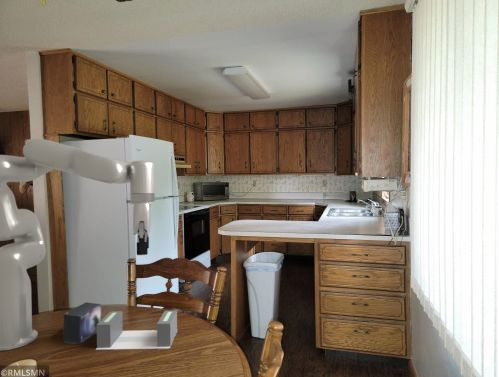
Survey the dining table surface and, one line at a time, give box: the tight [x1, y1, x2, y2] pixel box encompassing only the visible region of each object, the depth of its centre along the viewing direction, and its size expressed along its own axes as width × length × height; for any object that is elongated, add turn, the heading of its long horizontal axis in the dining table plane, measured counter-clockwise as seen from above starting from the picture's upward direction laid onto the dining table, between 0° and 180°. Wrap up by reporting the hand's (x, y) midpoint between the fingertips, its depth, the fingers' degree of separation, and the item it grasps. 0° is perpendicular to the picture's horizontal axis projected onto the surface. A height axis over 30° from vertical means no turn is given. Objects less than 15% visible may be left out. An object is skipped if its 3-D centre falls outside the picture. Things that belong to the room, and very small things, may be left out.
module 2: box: [156, 310, 178, 348], centre depth 103 cm, size 4×10×7 cm, turn 1°
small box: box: [62, 302, 102, 345], centre depth 105 cm, size 11×6×10 cm, turn 168°
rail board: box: [95, 329, 178, 351], centre depth 103 cm, size 22×12×2 cm, turn 91°
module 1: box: [96, 310, 124, 348], centre depth 102 cm, size 4×10×7 cm, turn 1°
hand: (143, 251), depth 105 cm, fingers open, 9 cm apart
